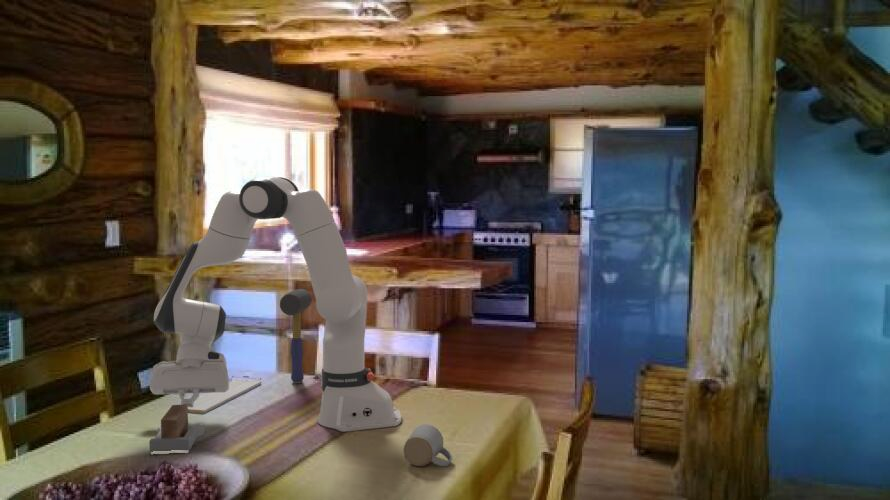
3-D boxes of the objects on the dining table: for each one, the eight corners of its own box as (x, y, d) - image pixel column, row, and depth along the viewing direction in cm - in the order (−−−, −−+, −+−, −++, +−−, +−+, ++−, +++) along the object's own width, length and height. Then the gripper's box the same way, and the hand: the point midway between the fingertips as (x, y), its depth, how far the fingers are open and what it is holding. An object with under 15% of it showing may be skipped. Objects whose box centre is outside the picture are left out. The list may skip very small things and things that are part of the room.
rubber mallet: (302, 388, 227) (300, 293, 224) (279, 387, 228) (277, 292, 225) (314, 377, 239) (313, 287, 236) (292, 377, 240) (291, 287, 237)
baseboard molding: (167, 412, 205) (204, 416, 202) (166, 402, 205) (203, 405, 201) (228, 383, 235) (261, 386, 231) (228, 374, 234) (261, 377, 231)
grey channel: (204, 433, 185) (204, 420, 185) (193, 453, 172) (193, 438, 172) (158, 435, 184) (158, 422, 184) (144, 455, 170) (143, 441, 170)
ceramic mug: (401, 466, 164) (402, 433, 163) (412, 453, 172) (413, 422, 171) (446, 472, 161) (447, 438, 161) (455, 458, 169) (456, 426, 168)
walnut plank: (188, 435, 185) (187, 404, 184) (177, 452, 173) (176, 419, 172) (173, 435, 184) (172, 404, 183) (161, 452, 172) (160, 420, 172)
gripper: (151, 356, 196) (143, 402, 188) (229, 354, 199) (224, 399, 191) (156, 368, 201) (148, 413, 193) (232, 365, 204) (227, 410, 195)
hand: (186, 406), depth 192 cm, fingers closed
